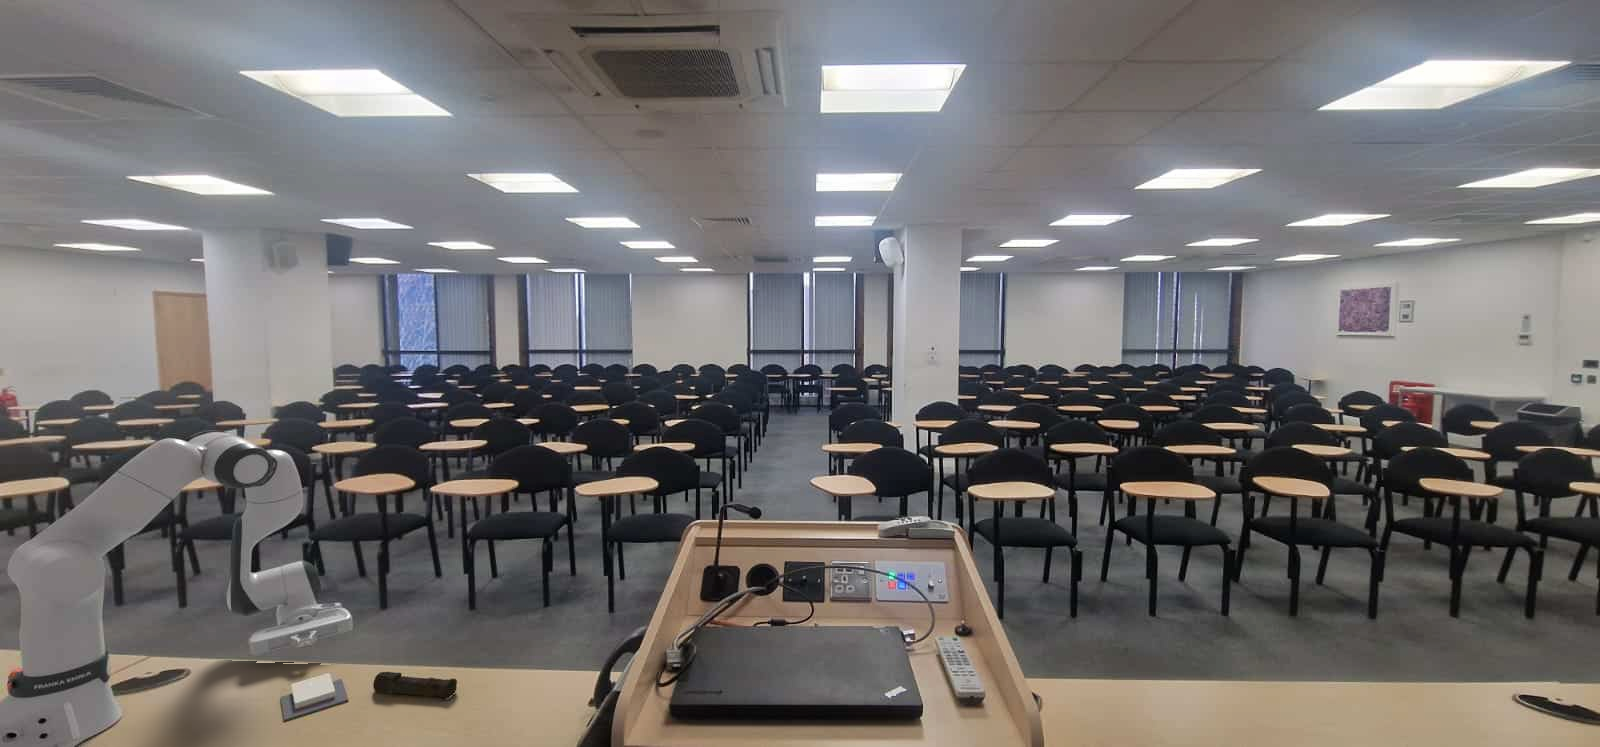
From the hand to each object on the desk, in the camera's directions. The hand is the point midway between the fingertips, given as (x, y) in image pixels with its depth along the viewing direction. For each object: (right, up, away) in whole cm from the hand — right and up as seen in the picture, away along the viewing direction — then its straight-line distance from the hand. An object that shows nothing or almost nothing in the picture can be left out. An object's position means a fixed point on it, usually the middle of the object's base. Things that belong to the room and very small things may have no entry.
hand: (305, 643), depth 156 cm
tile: (+8, -5, -8) cm, 12 cm away
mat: (+12, -7, -14) cm, 19 cm away
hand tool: (+33, -7, -12) cm, 35 cm away
